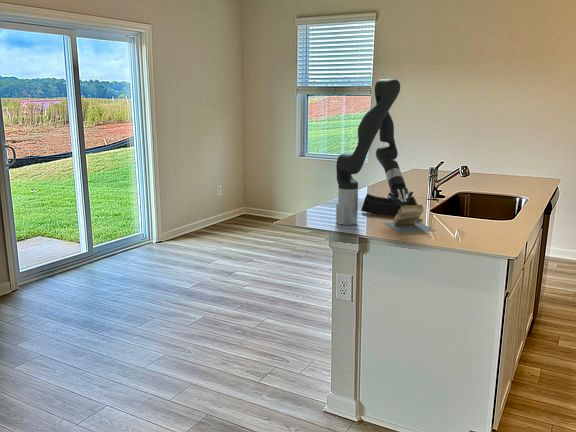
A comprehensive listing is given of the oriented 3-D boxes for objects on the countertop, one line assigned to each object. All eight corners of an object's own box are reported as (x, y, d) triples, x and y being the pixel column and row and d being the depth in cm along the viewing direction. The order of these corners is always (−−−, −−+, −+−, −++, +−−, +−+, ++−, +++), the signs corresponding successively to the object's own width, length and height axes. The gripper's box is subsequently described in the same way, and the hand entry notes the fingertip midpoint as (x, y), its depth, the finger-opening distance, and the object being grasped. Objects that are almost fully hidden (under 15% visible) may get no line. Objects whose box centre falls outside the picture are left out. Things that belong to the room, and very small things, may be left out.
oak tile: (414, 224, 241) (424, 210, 231) (394, 225, 239) (403, 211, 229) (412, 218, 243) (422, 204, 233) (393, 220, 241) (401, 205, 231)
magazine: (356, 196, 265) (411, 183, 249) (359, 195, 268) (414, 182, 252) (365, 227, 267) (420, 217, 250) (367, 226, 269) (422, 216, 253)
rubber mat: (436, 231, 229) (437, 231, 229) (399, 234, 225) (399, 233, 225) (416, 221, 248) (416, 220, 248) (381, 223, 244) (381, 222, 244)
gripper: (385, 175, 243) (394, 206, 234) (410, 174, 246) (421, 204, 237) (380, 185, 249) (389, 215, 240) (405, 184, 252) (415, 213, 243)
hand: (405, 210), depth 239 cm, fingers closed
